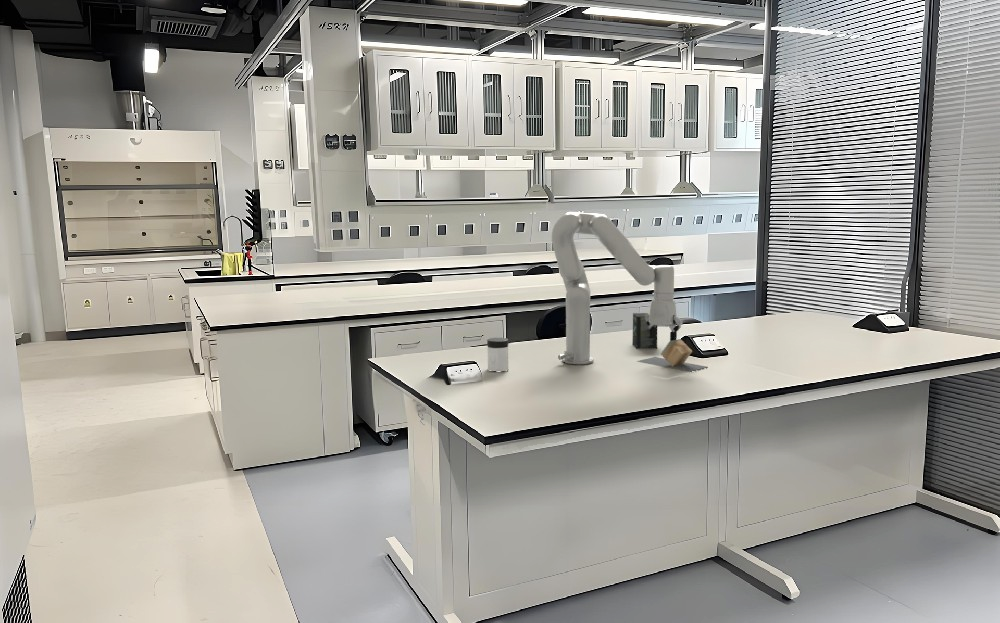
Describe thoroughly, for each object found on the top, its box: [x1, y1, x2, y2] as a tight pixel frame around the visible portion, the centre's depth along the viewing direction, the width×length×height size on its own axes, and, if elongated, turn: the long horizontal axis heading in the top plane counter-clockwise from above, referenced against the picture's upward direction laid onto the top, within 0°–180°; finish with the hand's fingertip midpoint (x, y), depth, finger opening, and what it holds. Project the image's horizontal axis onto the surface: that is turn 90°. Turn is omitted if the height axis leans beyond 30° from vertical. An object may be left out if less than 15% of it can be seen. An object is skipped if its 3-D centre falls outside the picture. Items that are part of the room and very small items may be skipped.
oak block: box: [660, 338, 693, 367], centre depth 271 cm, size 7×7×7 cm
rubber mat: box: [636, 356, 709, 373], centre depth 274 cm, size 12×25×1 cm, turn 40°
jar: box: [486, 337, 509, 372], centre depth 268 cm, size 9×8×12 cm
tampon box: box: [631, 312, 658, 350], centre depth 308 cm, size 11×9×15 cm
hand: (662, 339), depth 276 cm, fingers open, 9 cm apart
